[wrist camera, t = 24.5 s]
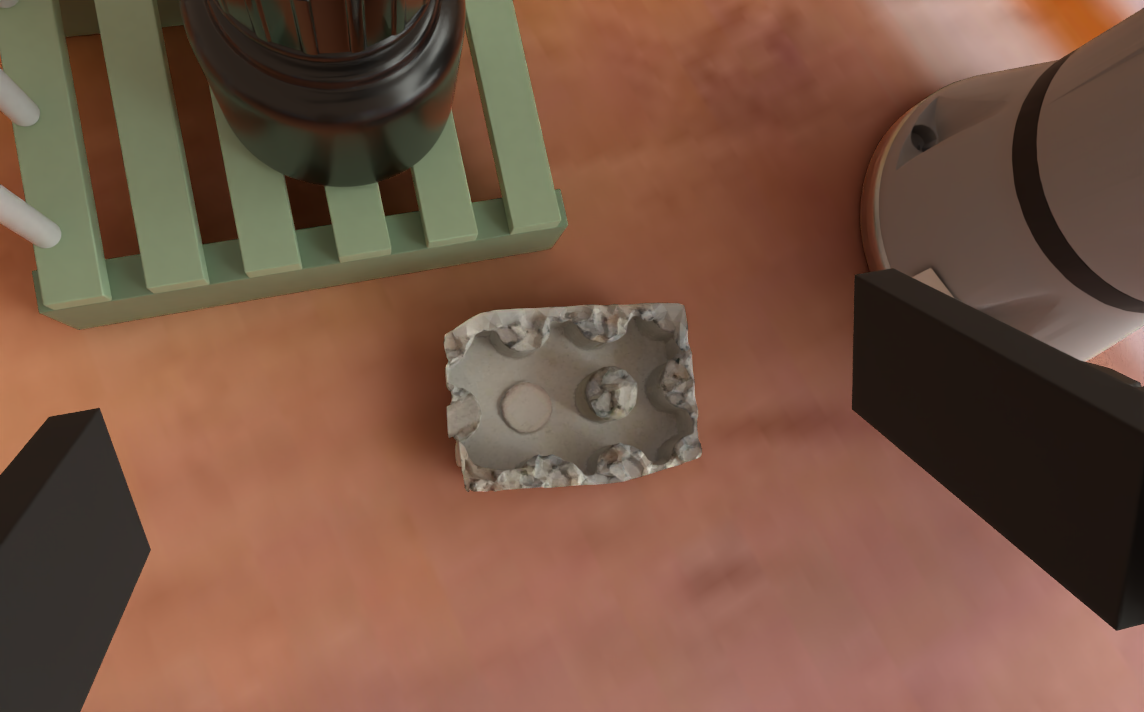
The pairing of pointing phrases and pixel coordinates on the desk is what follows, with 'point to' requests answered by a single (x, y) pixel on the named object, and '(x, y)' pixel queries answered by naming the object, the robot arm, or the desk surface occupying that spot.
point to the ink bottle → (331, 80)
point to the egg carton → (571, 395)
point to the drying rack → (241, 178)
